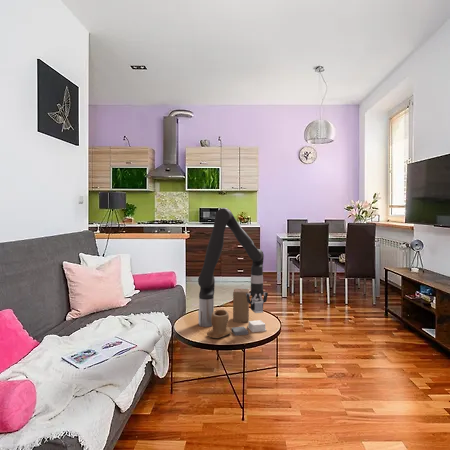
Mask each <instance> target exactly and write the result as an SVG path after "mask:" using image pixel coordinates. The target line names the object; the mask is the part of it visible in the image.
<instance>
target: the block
mask: <svg viewBox="0 0 450 450" xmlns="http://www.w3.org/2000/svg"><path fill="white" fill-rule="evenodd" d="M246 293H250V290H249V288H234V289H233V292H232V321H233V322H234V323H249V321H250V304H249V303H248V302H247V297H246Z"/></svg>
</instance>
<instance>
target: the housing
mask: <svg viewBox="0 0 450 450" xmlns="http://www.w3.org/2000/svg"><path fill="white" fill-rule="evenodd" d="M253 304H254V310H252V309H251V308H250V311H252V312H253V313H254V314H262V313H264V303H263V301H262V300H260V299H255V301H254V303H253Z"/></svg>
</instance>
